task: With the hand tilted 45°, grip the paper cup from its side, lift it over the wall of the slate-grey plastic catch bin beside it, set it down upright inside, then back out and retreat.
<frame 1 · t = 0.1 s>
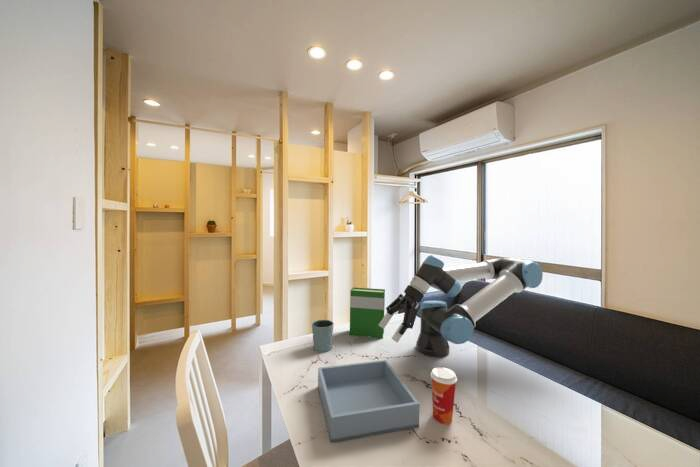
hand: (387, 333, 109), 15 cm above the table, tool tilted 35°, fingers open, 13 cm apart
paper cup: (442, 418, 83), on the table
grey-blue cup: (322, 348, 128), on the table
hardback book: (366, 334, 146), on the table
catch bin: (363, 404, 88), on the table
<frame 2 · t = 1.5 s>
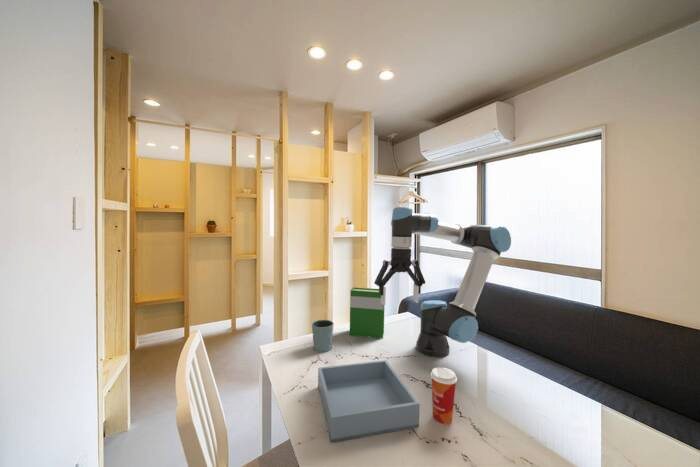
hand: (399, 302, 105), 29 cm above the table, tool pointing down, fingers open, 13 cm apart
nothing on the table moved.
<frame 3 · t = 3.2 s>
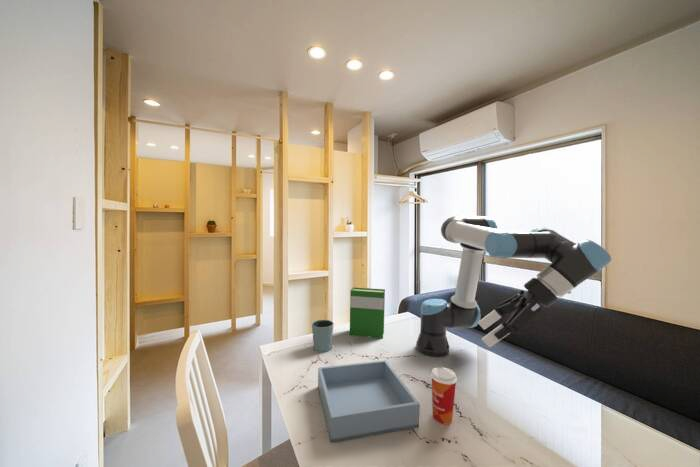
hand: (482, 334, 78), 28 cm above the table, tool tilted 45°, fingers open, 13 cm apart
nothing on the table moved.
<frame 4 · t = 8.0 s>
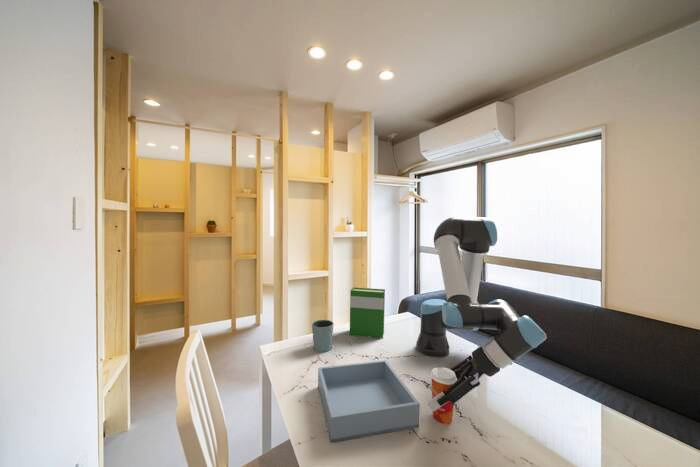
hand: (431, 398, 84), 5 cm above the table, tool tilted 45°, fingers closed on paper cup, 8 cm apart
paper cup: (442, 418, 83), on the table, touching gripper
everything else where it was.
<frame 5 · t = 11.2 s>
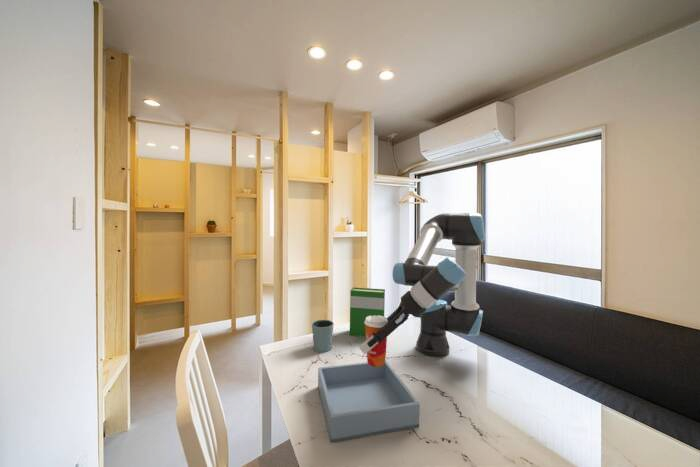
hand: (365, 344, 87), 20 cm above the table, tool tilted 45°, fingers closed on paper cup, 8 cm apart
paper cup: (376, 363, 86), point 15 cm above the table, touching gripper
everything else where it was.
when the fingers open (7 cm above the table, at t = 14.5 s): paper cup drops 1 cm, resting on catch bin.
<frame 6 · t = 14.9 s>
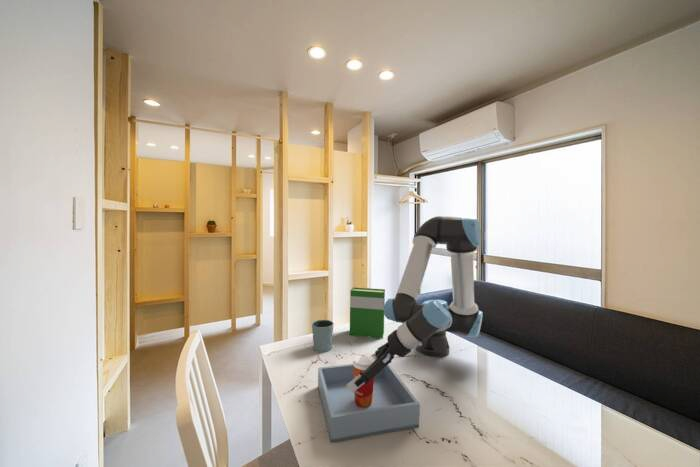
hand: (356, 377, 89), 9 cm above the table, tool tilted 45°, fingers open, 13 cm apart
paper cup: (363, 402, 88), point 1 cm above the table, touching catch bin
everything else where it was.
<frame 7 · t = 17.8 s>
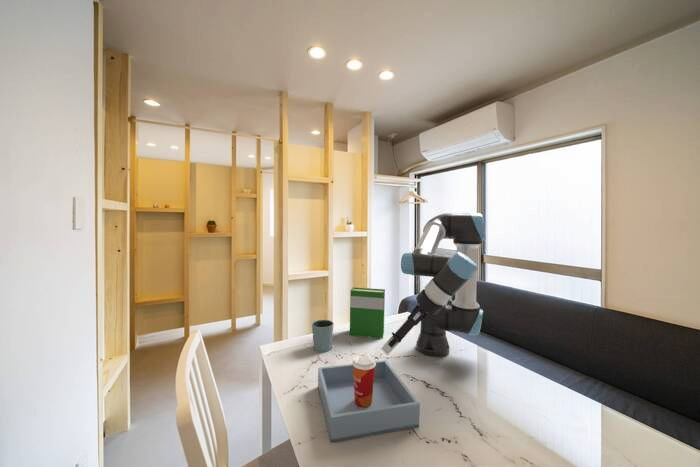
hand: (392, 342, 89), 20 cm above the table, tool tilted 35°, fingers open, 13 cm apart
nothing on the table moved.
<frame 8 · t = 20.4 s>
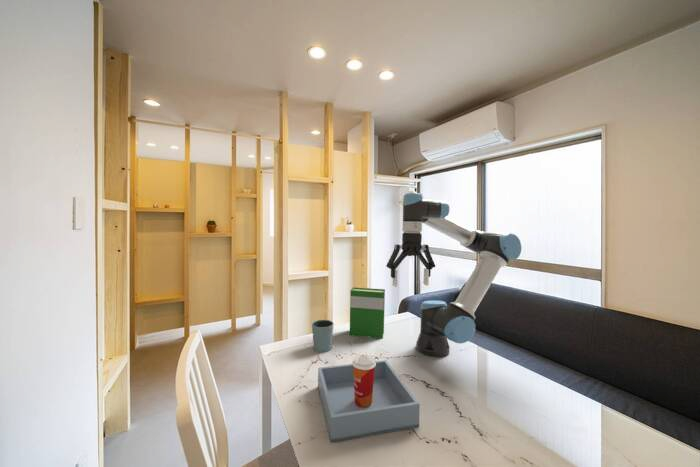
hand: (410, 285, 109), 35 cm above the table, tool pointing down, fingers open, 13 cm apart
nothing on the table moved.
at the end: paper cup inside the target area on the catch bin (0.1 cm from its centre), point 0.8 cm above the catch bin's base; paper cup tilted 0°; the gripper is holding nothing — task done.
